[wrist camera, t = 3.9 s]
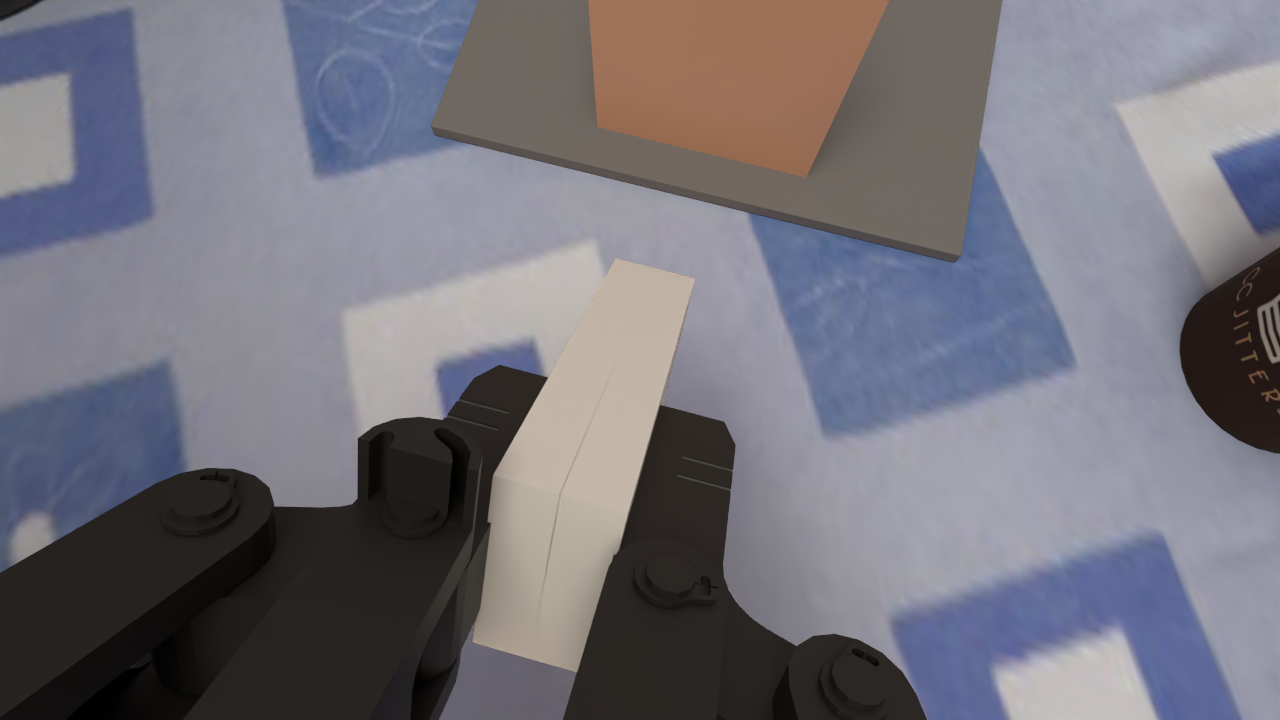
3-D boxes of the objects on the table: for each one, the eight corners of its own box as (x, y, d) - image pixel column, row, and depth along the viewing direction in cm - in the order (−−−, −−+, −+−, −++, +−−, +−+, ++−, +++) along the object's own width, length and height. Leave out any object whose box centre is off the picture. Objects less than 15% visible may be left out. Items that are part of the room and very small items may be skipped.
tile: (806, 177, 27) (903, -30, 18) (597, 127, 28) (581, -103, 18) (818, 122, 28) (919, -108, 18) (614, 73, 28) (606, -177, 19)
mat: (953, 262, 27) (961, 255, 27) (435, 135, 28) (430, 126, 28) (1012, -98, 32) (1019, -110, 31) (560, -197, 33) (559, -211, 32)
